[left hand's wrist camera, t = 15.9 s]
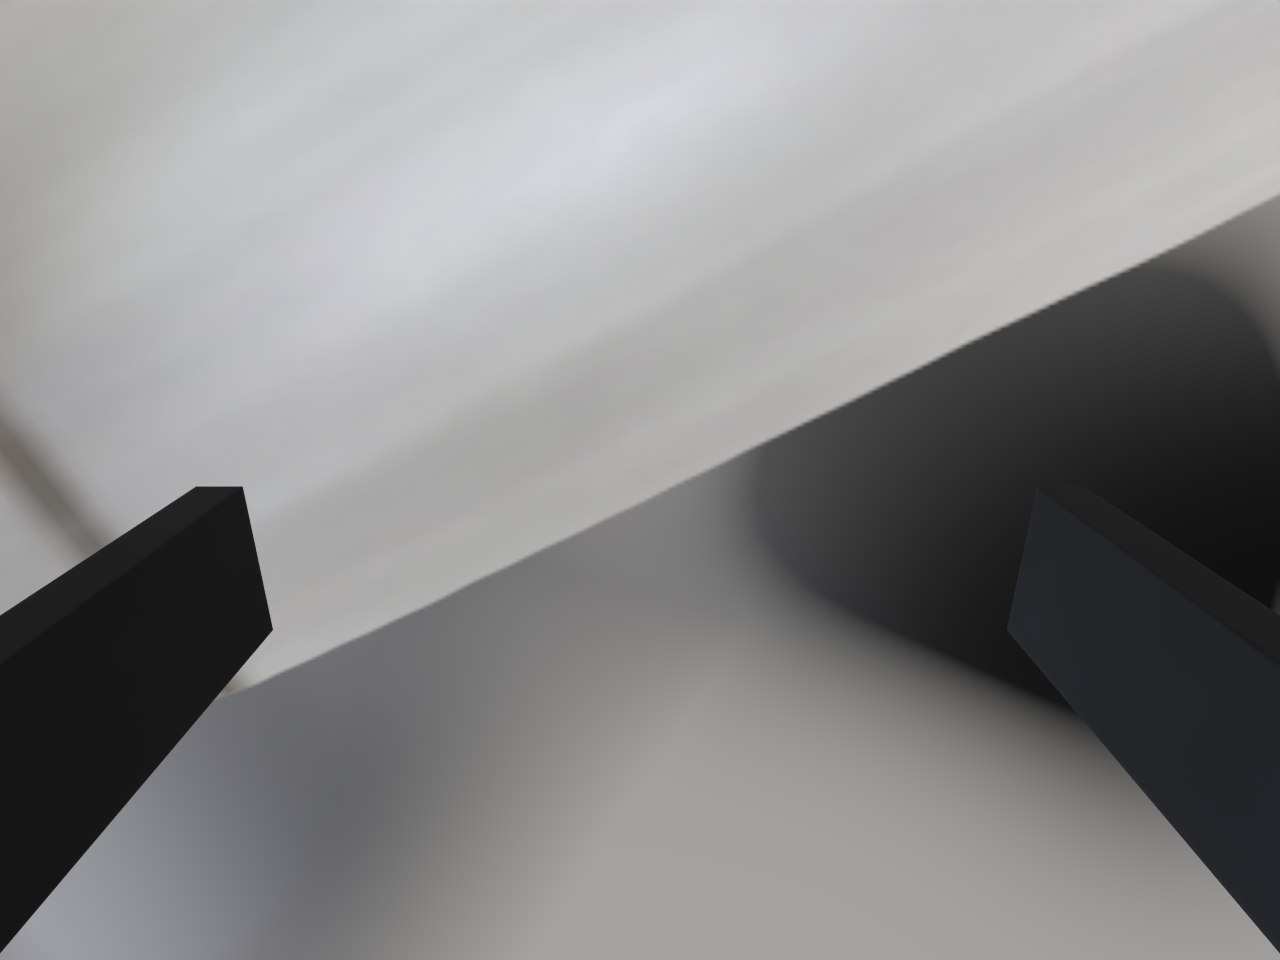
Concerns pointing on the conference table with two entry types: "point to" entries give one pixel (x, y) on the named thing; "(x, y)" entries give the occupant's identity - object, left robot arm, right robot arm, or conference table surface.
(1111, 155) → the conference table surface
